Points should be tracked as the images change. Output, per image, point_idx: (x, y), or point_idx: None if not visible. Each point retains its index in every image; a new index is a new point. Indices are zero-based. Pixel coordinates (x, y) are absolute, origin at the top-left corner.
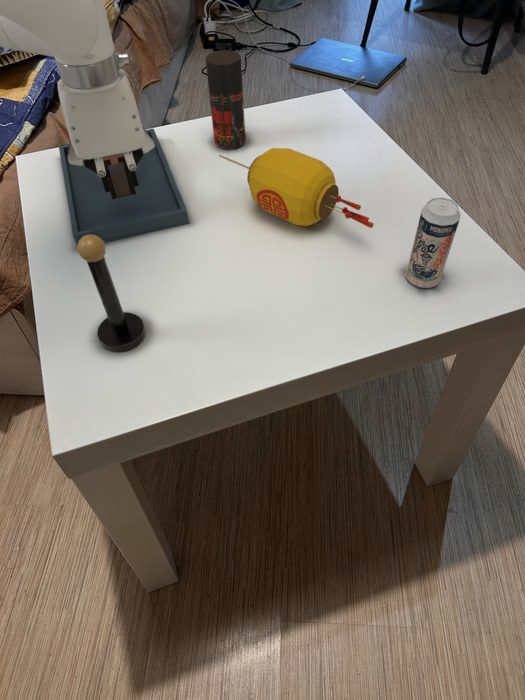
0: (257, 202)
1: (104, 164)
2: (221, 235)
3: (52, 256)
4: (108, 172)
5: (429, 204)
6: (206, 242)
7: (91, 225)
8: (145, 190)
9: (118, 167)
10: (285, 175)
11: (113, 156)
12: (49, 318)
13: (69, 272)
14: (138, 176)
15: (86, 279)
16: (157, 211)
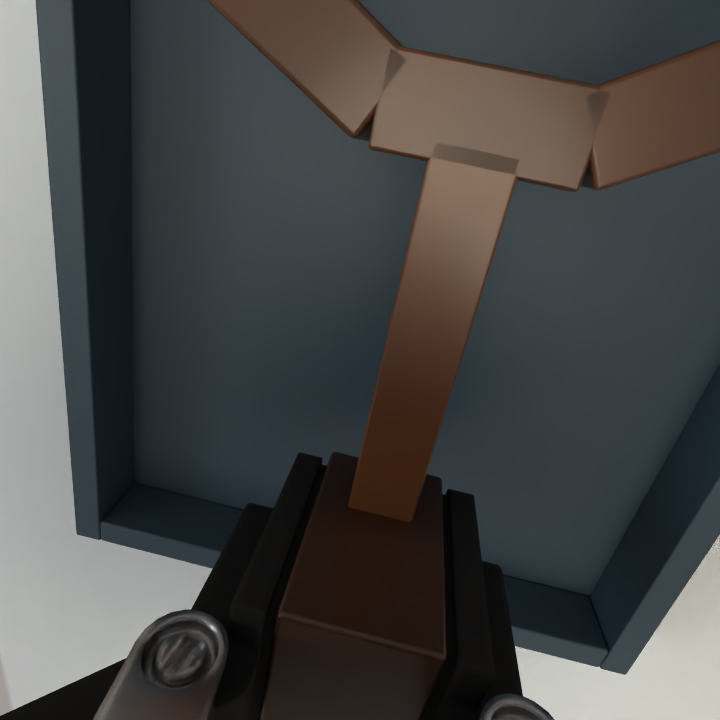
0: None
1: (223, 710)
2: (656, 716)
3: (22, 472)
4: (258, 686)
5: None
6: (580, 711)
7: (191, 404)
8: (579, 276)
9: (367, 696)
10: None
11: (491, 121)
12: (24, 680)
13: (82, 574)
14: (646, 52)
15: (134, 626)
16: (523, 489)
